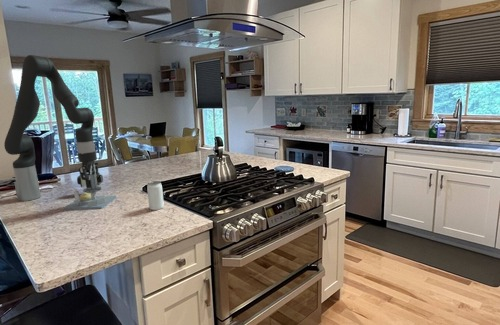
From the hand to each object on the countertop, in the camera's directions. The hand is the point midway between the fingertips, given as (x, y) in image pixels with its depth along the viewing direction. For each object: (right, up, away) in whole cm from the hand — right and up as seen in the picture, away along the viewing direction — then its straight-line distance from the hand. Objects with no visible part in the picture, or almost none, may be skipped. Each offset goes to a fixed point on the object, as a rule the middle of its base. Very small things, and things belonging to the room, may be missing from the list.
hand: (91, 185), depth 151 cm
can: (+33, -10, -6) cm, 35 cm away
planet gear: (0, -2, +1) cm, 2 cm away
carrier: (-2, -9, +3) cm, 9 cm away
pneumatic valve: (-9, -6, +20) cm, 23 cm away
